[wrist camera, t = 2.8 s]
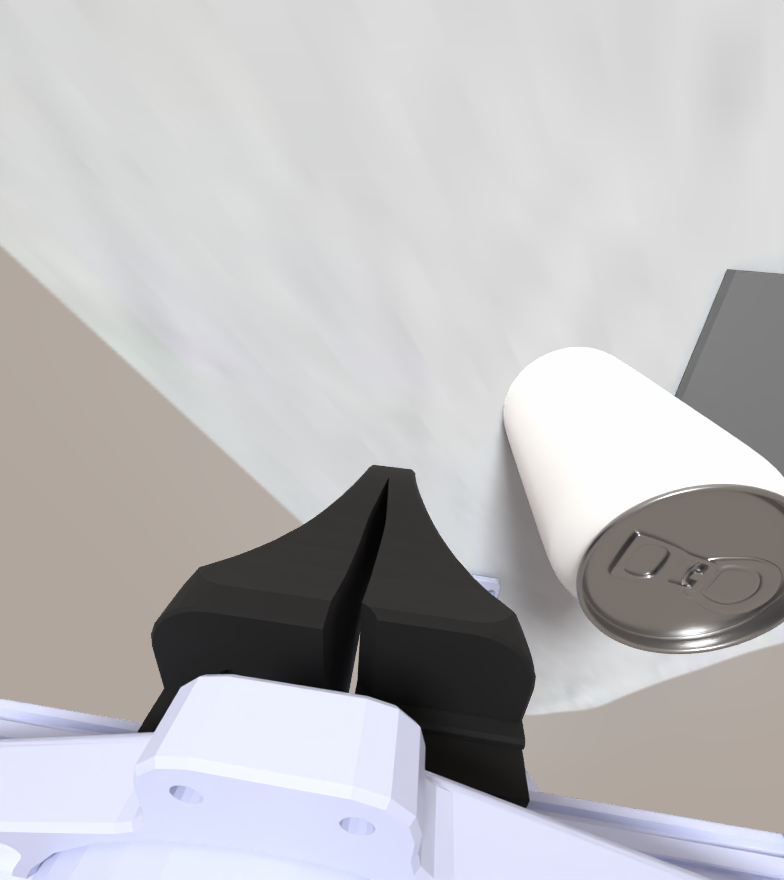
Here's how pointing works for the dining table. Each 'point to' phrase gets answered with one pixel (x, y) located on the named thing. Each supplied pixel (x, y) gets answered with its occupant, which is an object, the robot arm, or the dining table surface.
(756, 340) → the mat
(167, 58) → the dining table surface
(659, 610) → the can
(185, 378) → the dining table surface
